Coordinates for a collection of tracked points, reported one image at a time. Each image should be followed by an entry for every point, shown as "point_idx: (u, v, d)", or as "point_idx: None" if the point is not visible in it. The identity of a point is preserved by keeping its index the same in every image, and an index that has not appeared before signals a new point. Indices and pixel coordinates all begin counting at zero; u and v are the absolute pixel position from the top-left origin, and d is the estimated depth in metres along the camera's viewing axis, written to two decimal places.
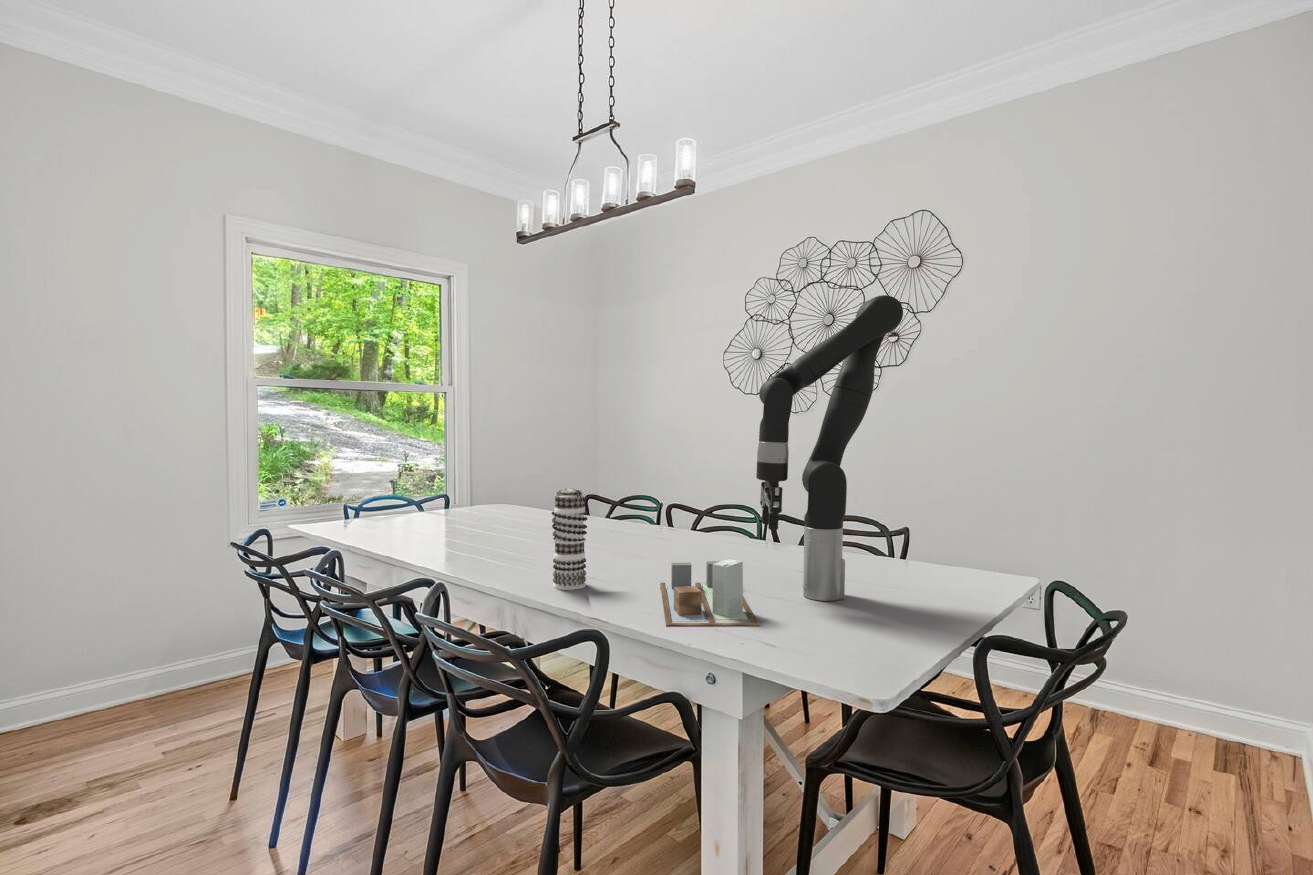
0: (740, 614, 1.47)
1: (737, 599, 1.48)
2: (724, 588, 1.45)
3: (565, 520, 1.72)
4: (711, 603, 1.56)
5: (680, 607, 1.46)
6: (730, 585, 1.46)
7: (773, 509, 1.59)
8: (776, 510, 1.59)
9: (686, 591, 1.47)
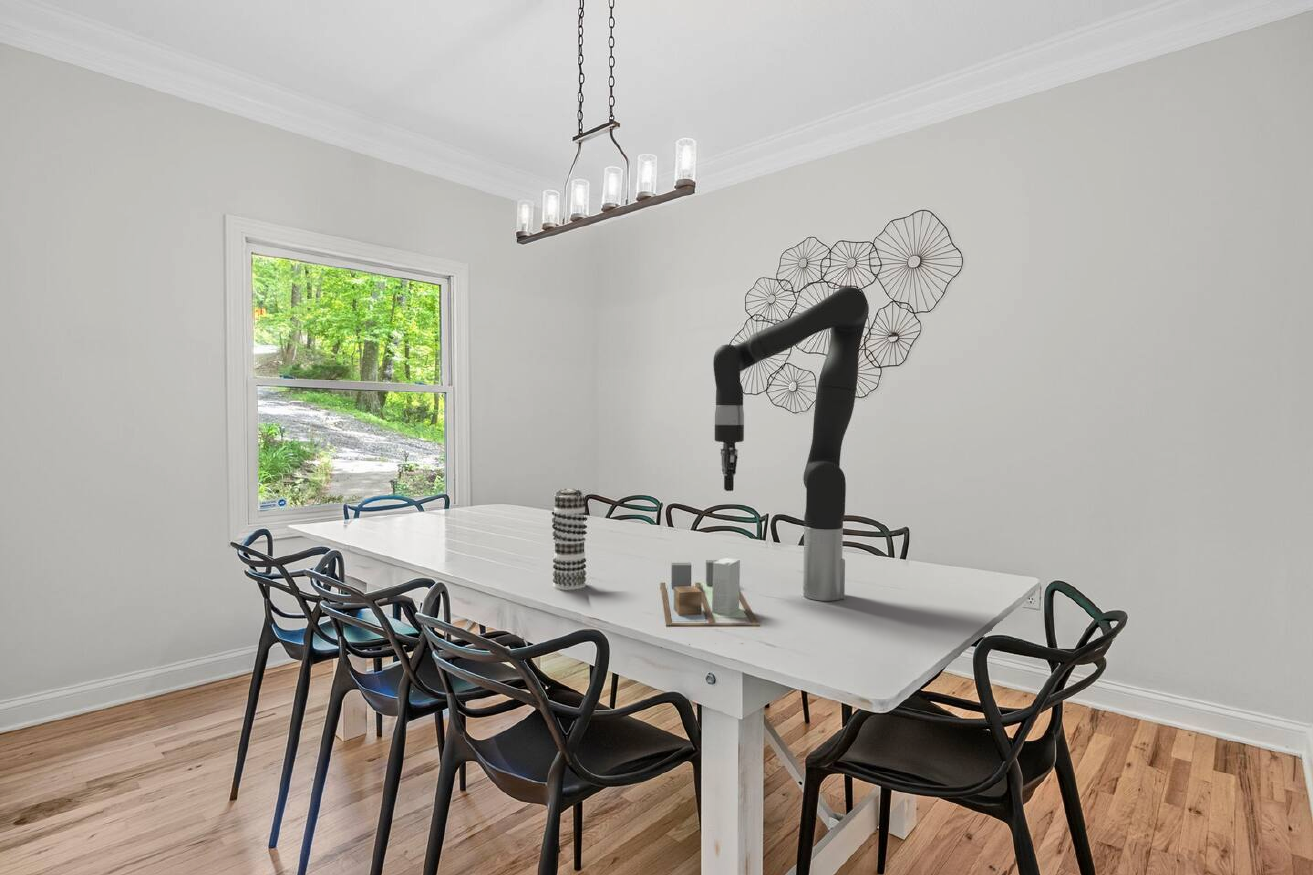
0: (739, 612, 1.49)
1: (735, 597, 1.49)
2: (726, 586, 1.47)
3: (565, 520, 1.72)
4: (710, 601, 1.57)
5: (680, 607, 1.46)
6: (731, 583, 1.47)
7: (727, 473, 1.72)
8: (730, 472, 1.72)
9: (686, 591, 1.47)
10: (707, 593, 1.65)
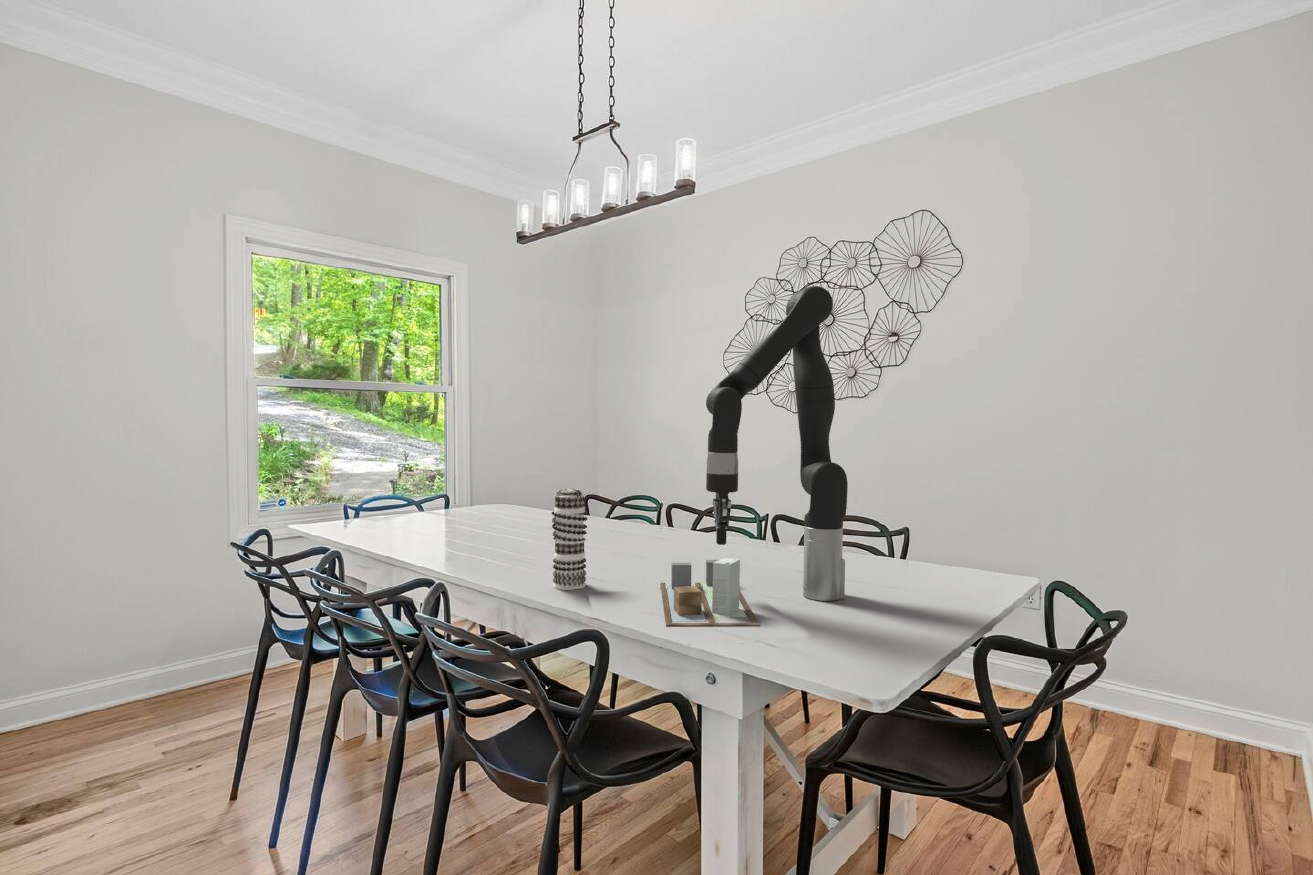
0: (739, 612, 1.49)
1: (735, 597, 1.49)
2: (726, 586, 1.47)
3: (565, 520, 1.72)
4: (710, 601, 1.57)
5: (680, 607, 1.46)
6: (731, 583, 1.47)
7: (720, 526, 1.58)
8: (723, 525, 1.58)
9: (686, 591, 1.47)
10: (707, 593, 1.65)
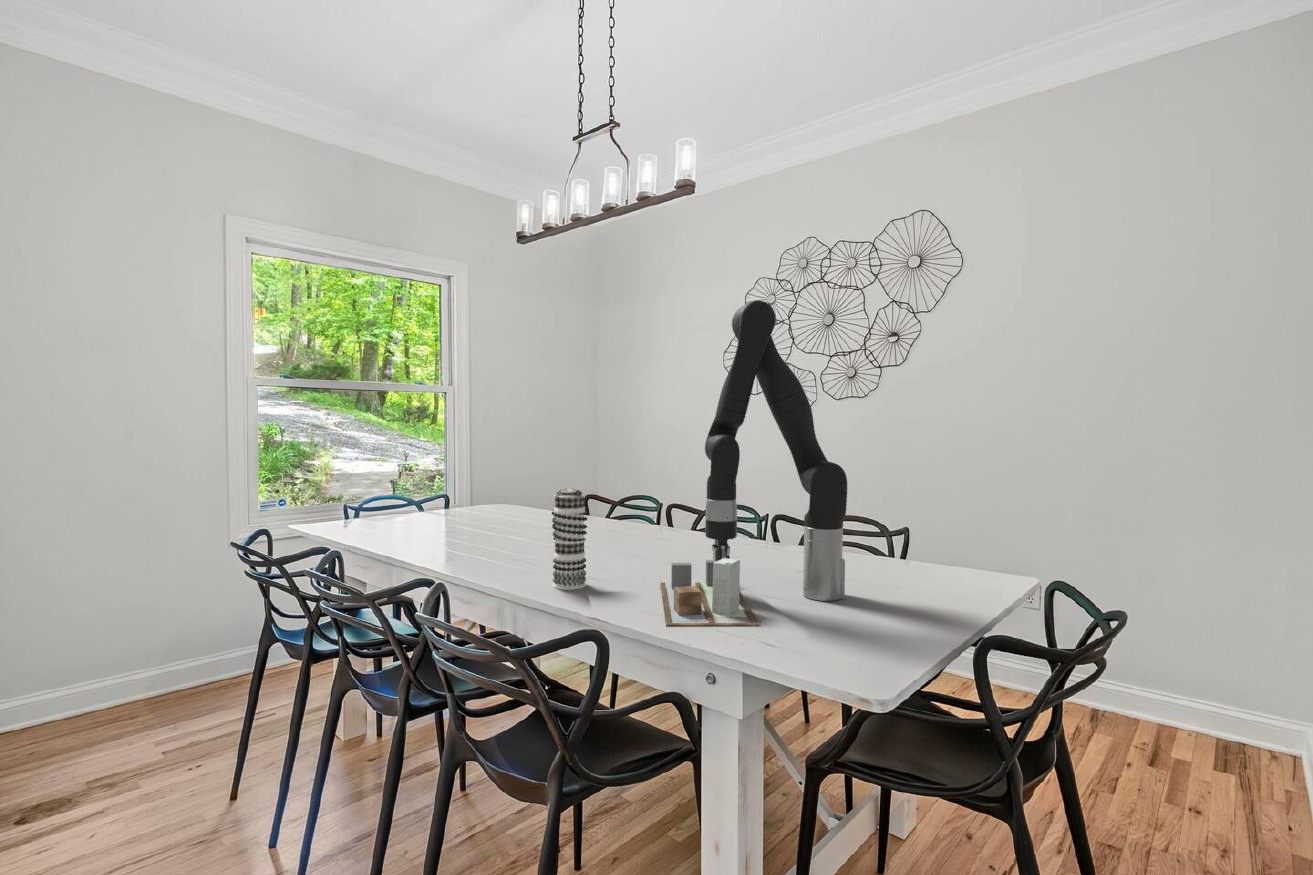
0: (739, 612, 1.49)
1: (735, 597, 1.49)
2: (726, 586, 1.47)
3: (565, 520, 1.72)
4: (710, 601, 1.57)
5: (680, 607, 1.46)
6: (731, 583, 1.47)
7: None
8: None
9: (686, 591, 1.47)
10: (707, 593, 1.65)
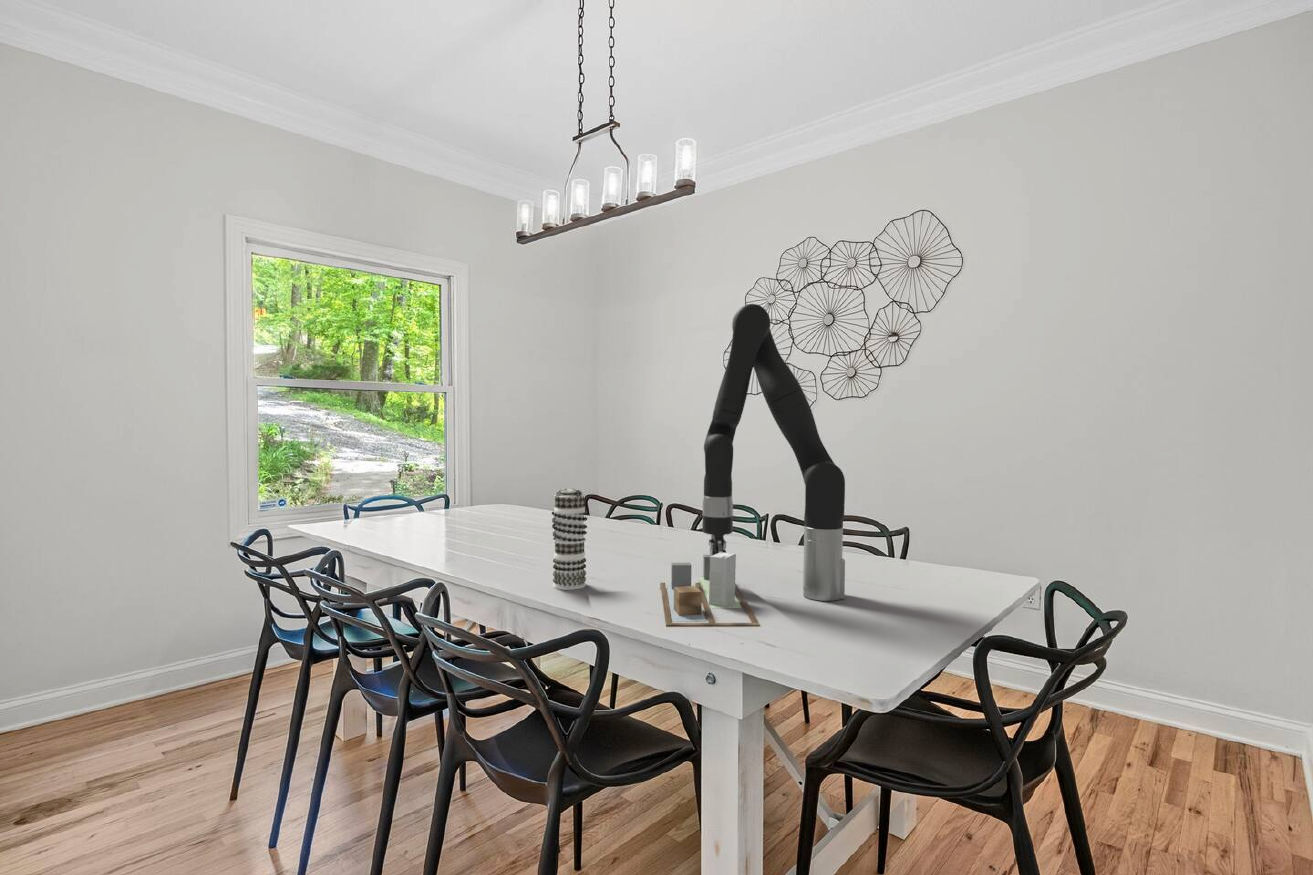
0: (735, 603, 1.55)
1: (731, 589, 1.56)
2: (722, 578, 1.53)
3: (565, 520, 1.72)
4: (707, 594, 1.64)
5: (680, 607, 1.46)
6: (727, 576, 1.54)
7: None
8: None
9: (686, 591, 1.47)
10: (704, 586, 1.71)
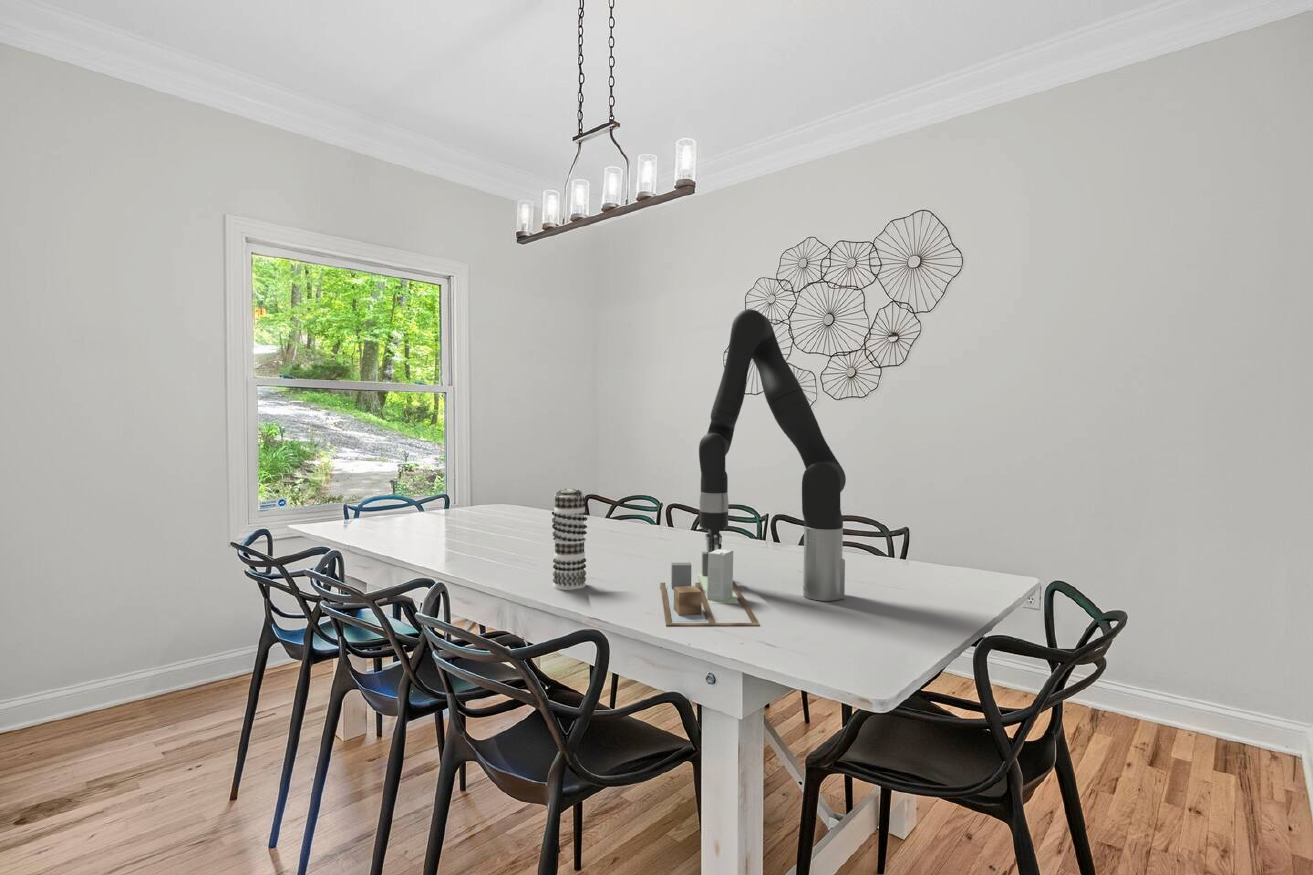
0: (732, 599, 1.59)
1: (729, 585, 1.60)
2: (720, 574, 1.57)
3: (565, 520, 1.72)
4: (706, 589, 1.68)
5: (680, 607, 1.46)
6: (725, 572, 1.58)
7: None
8: None
9: (686, 591, 1.47)
10: (703, 582, 1.75)
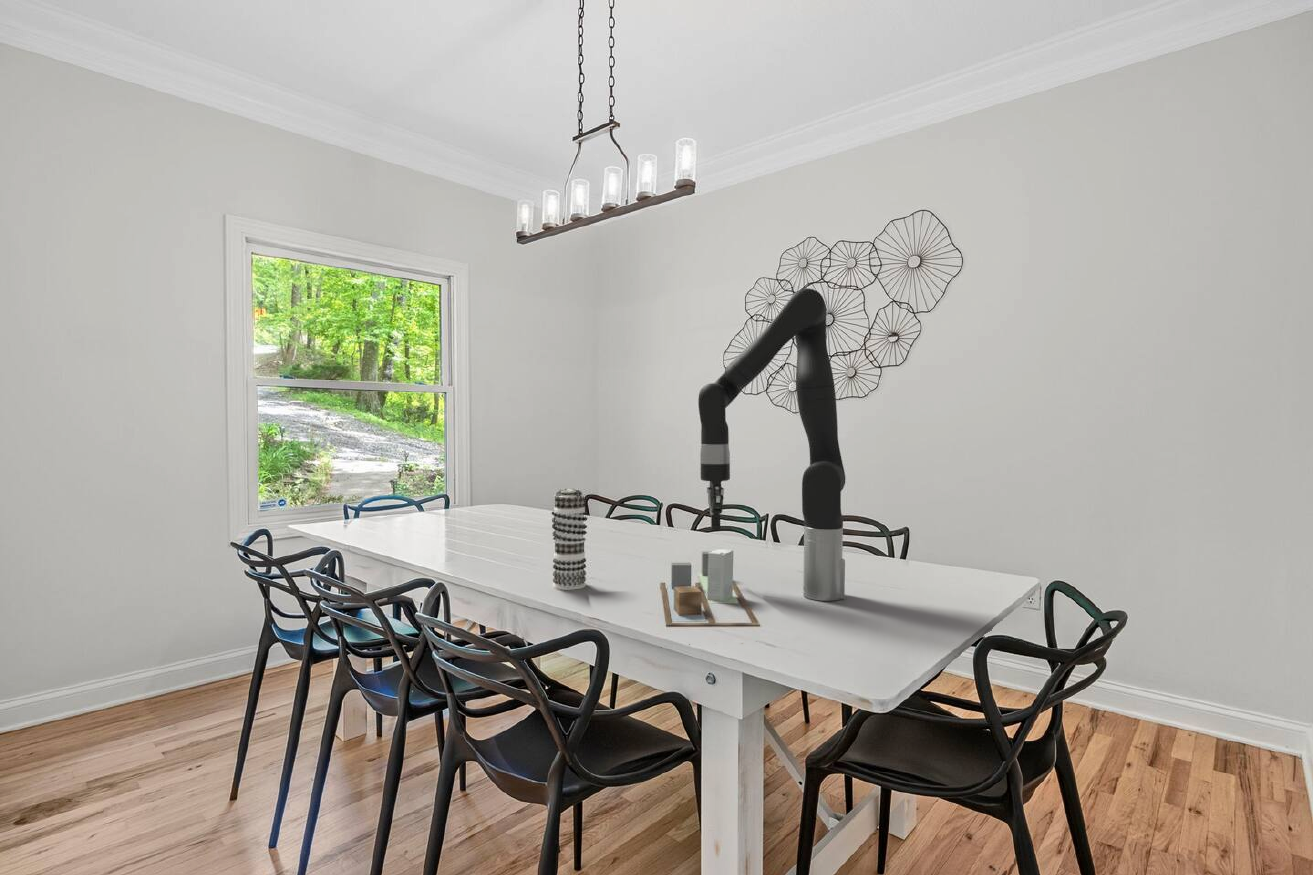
0: (732, 599, 1.60)
1: (729, 585, 1.60)
2: (720, 574, 1.57)
3: (565, 520, 1.72)
4: (706, 589, 1.68)
5: (680, 607, 1.46)
6: (725, 572, 1.58)
7: (714, 512, 1.71)
8: (717, 511, 1.71)
9: (686, 591, 1.47)
10: (703, 582, 1.76)
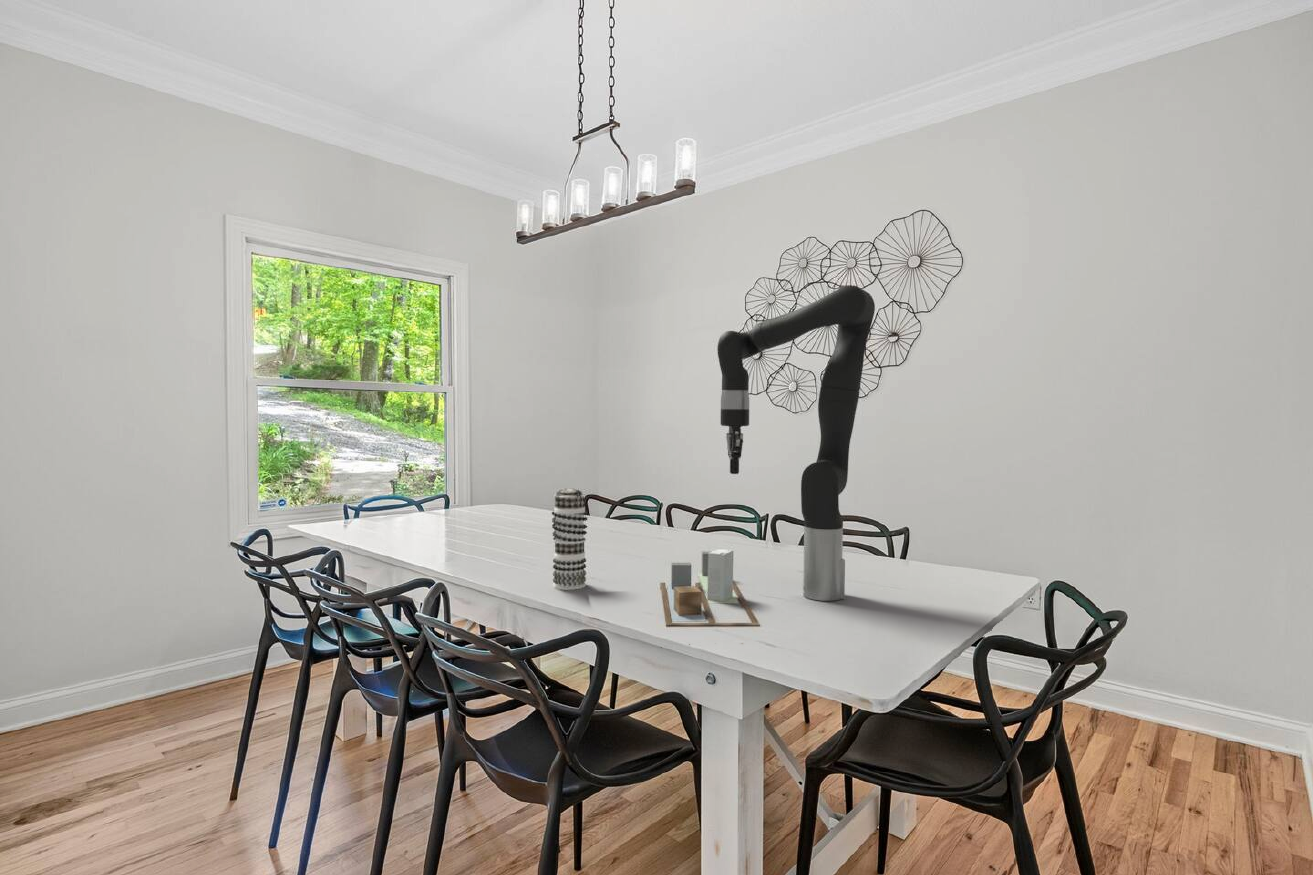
0: (732, 599, 1.60)
1: (729, 585, 1.60)
2: (720, 574, 1.57)
3: (565, 520, 1.72)
4: (706, 589, 1.68)
5: (680, 607, 1.46)
6: (725, 572, 1.58)
7: (733, 456, 1.76)
8: (736, 455, 1.76)
9: (686, 591, 1.47)
10: (703, 582, 1.76)
